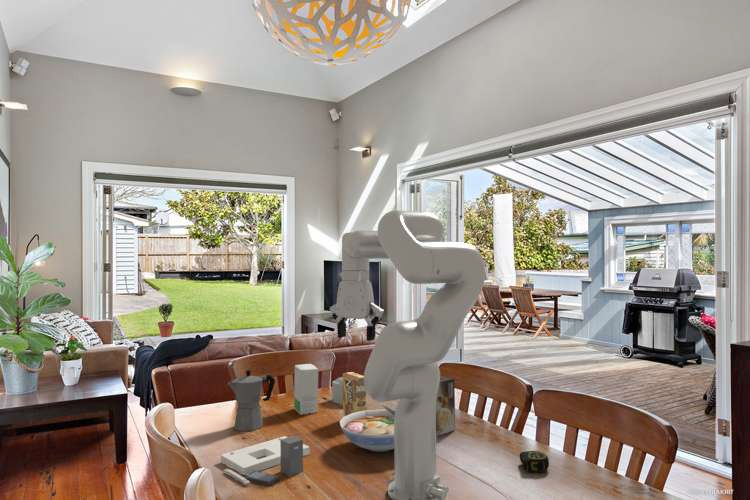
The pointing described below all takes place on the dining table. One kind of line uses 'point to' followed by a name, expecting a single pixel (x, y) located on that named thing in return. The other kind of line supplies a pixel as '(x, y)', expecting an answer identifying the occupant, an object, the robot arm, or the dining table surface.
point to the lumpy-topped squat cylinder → (338, 391)
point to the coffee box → (445, 406)
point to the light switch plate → (257, 456)
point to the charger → (291, 455)
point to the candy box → (353, 393)
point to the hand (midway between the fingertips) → (356, 338)
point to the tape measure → (534, 461)
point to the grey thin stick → (237, 476)
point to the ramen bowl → (370, 429)
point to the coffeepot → (250, 400)
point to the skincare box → (306, 389)
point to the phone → (262, 478)
